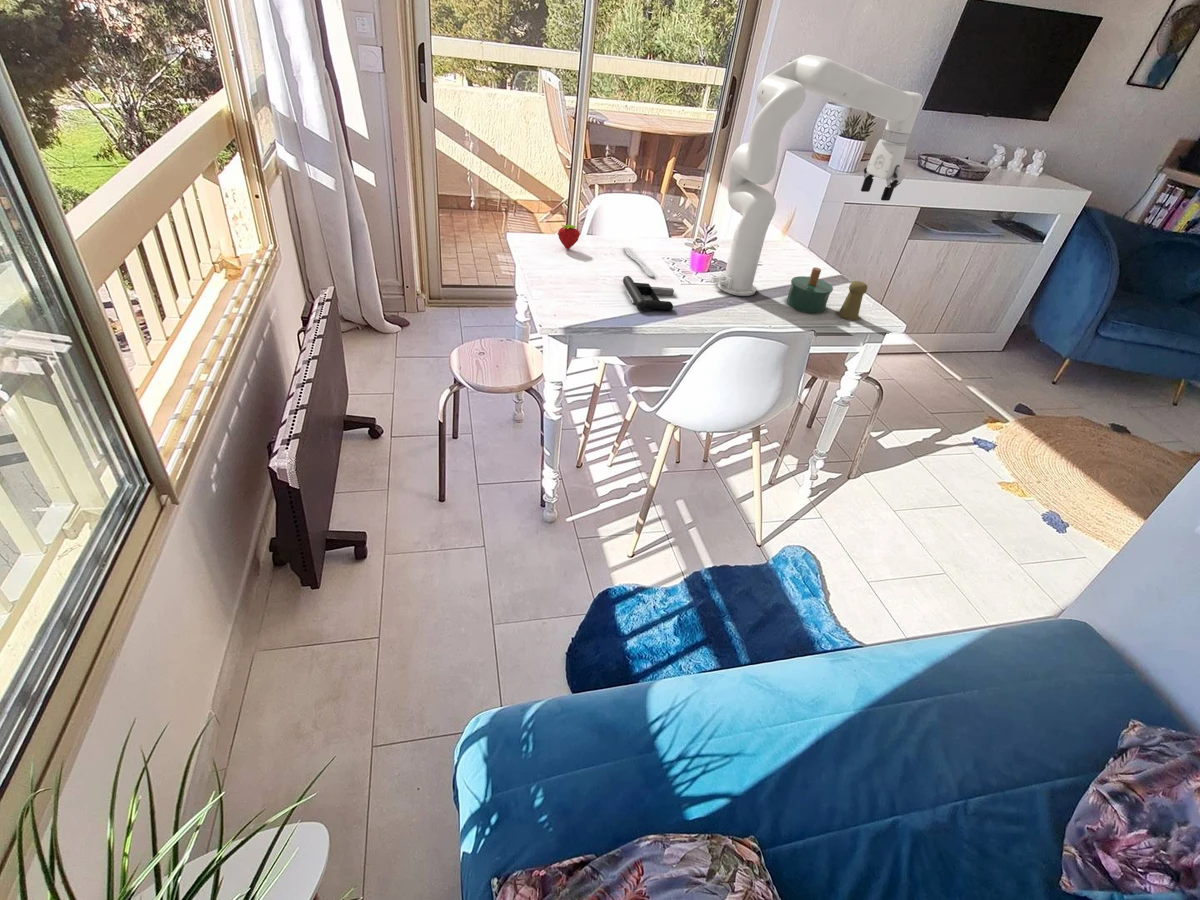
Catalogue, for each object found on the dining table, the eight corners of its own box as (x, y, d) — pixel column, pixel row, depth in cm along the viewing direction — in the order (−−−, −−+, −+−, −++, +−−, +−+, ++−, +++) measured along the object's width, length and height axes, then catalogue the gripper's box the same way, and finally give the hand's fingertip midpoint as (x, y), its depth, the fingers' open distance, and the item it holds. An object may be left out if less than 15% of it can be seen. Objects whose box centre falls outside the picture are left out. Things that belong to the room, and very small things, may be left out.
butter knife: (647, 275, 205) (655, 275, 206) (621, 247, 226) (629, 247, 226) (647, 277, 206) (655, 277, 206) (621, 249, 226) (629, 249, 227)
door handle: (667, 278, 200) (619, 274, 196) (687, 305, 185) (635, 301, 181) (665, 288, 202) (617, 284, 198) (684, 315, 187) (633, 311, 183)
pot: (800, 314, 195) (807, 294, 191) (779, 298, 203) (785, 279, 200) (831, 312, 199) (838, 293, 195) (809, 296, 207) (815, 278, 204)
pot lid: (806, 297, 191) (812, 277, 187) (782, 280, 200) (787, 261, 196) (840, 295, 195) (847, 276, 191) (815, 279, 204) (821, 260, 201)
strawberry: (578, 253, 217) (580, 224, 211) (556, 251, 217) (558, 222, 211) (578, 247, 222) (581, 219, 216) (557, 245, 221) (559, 216, 215)
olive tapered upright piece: (858, 321, 195) (871, 287, 189) (839, 317, 196) (851, 284, 189) (856, 313, 200) (868, 280, 193) (837, 310, 201) (849, 277, 194)
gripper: (867, 131, 197) (848, 188, 207) (905, 144, 184) (883, 203, 195) (885, 132, 200) (866, 188, 210) (924, 145, 187) (902, 204, 197)
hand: (874, 195), depth 202 cm, fingers open, 9 cm apart
